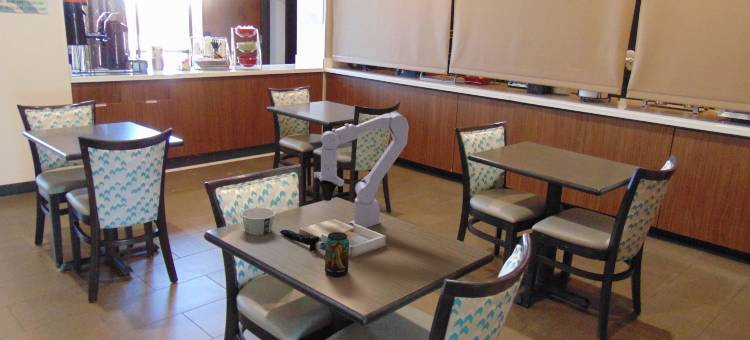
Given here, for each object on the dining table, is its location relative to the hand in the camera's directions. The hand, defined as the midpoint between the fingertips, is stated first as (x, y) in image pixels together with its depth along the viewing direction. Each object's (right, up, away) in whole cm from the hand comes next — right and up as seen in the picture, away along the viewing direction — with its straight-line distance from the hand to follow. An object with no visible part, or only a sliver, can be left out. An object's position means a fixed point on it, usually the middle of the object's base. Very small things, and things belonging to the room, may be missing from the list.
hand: (328, 200), depth 208 cm
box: (+10, -14, -15) cm, 23 cm away
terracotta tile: (+8, -13, -14) cm, 21 cm away
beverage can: (+6, -20, -37) cm, 42 cm away
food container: (-24, -11, -6) cm, 27 cm away
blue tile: (+11, -14, -17) cm, 25 cm away
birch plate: (0, -11, -6) cm, 13 cm away
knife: (-5, -15, -19) cm, 24 cm away
